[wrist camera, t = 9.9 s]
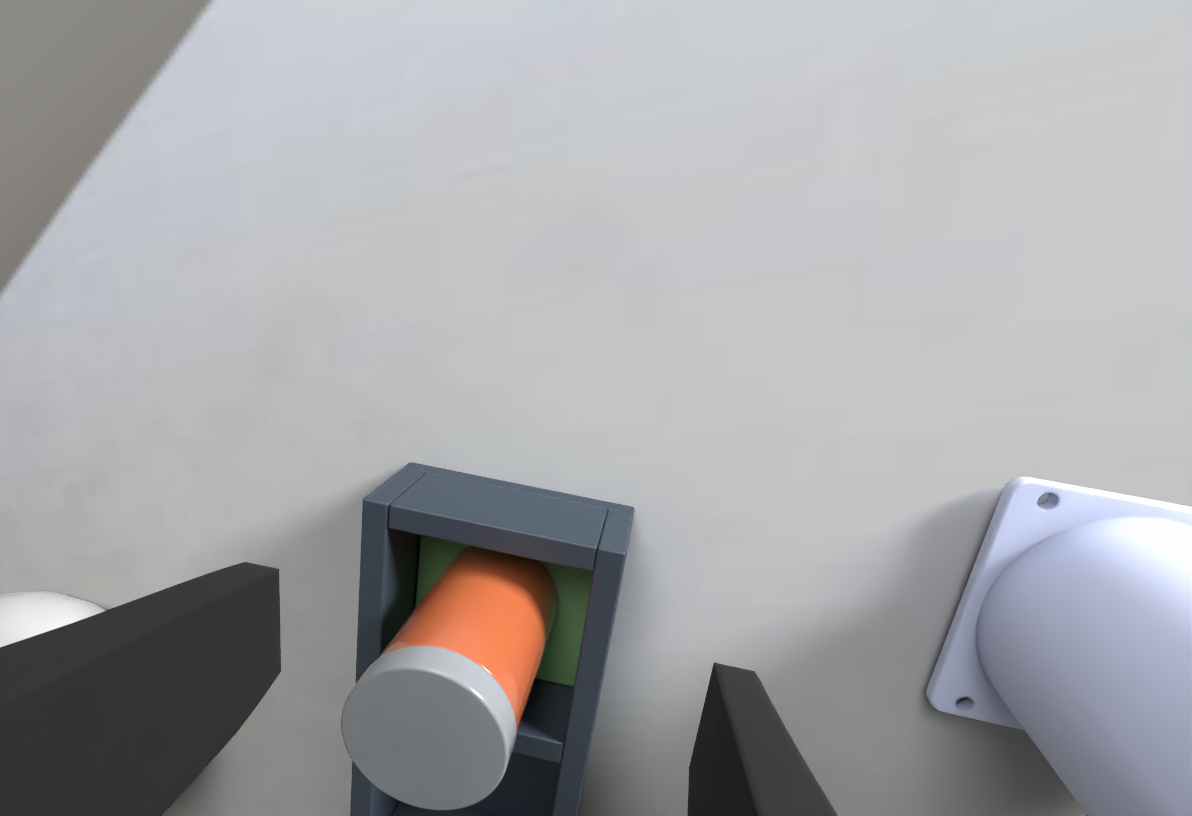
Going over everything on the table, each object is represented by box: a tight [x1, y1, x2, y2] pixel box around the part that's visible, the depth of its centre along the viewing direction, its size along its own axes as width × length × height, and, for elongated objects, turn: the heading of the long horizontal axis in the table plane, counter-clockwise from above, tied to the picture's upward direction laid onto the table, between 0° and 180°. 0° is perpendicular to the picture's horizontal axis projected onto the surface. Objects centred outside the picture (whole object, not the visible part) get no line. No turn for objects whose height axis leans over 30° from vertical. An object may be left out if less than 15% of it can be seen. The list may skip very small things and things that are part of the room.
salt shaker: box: [341, 546, 558, 810], centre depth 16 cm, size 4×4×6 cm
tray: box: [350, 463, 634, 816], centre depth 20 cm, size 8×21×3 cm, turn 171°
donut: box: [0, 591, 106, 647], centre depth 22 cm, size 10×3×10 cm
